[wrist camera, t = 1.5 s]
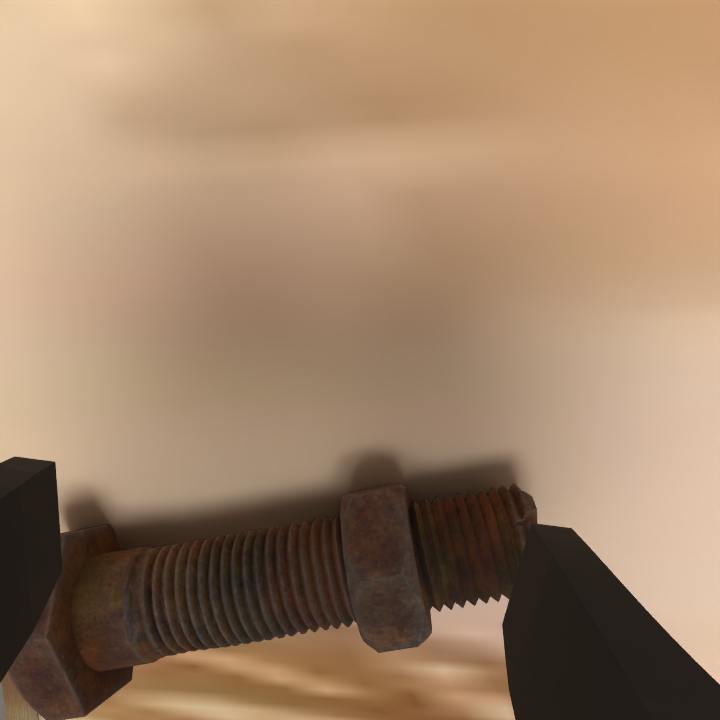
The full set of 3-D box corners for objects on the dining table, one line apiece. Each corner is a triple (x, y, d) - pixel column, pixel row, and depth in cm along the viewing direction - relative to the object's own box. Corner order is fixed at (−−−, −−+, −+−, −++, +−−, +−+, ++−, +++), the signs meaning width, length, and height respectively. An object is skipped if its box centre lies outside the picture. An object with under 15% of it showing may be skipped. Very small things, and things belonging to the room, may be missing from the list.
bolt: (513, 485, 23) (105, 558, 24) (513, 406, 19) (26, 498, 20) (562, 662, 20) (80, 738, 21) (574, 610, 16) (-22, 707, 17)
